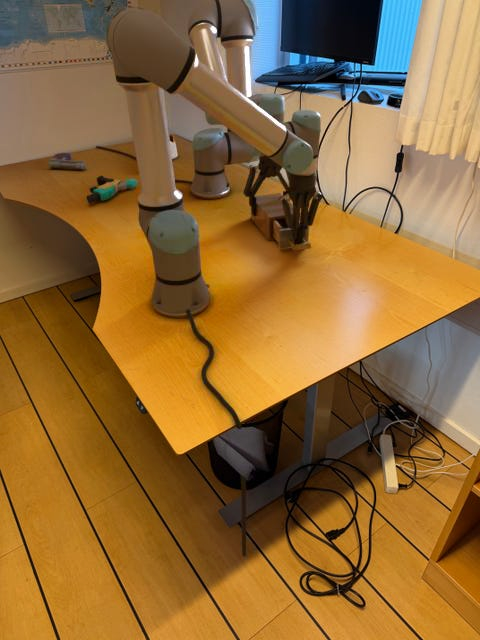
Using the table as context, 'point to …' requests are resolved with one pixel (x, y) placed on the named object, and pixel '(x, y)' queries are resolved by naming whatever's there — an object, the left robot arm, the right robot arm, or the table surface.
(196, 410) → the table surface
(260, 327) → the table surface
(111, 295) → the table surface
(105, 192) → the toy gun
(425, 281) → the table surface
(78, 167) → the toy gun
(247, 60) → the right robot arm
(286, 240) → the drawer
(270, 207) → the cabinet
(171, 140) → the sneaker
